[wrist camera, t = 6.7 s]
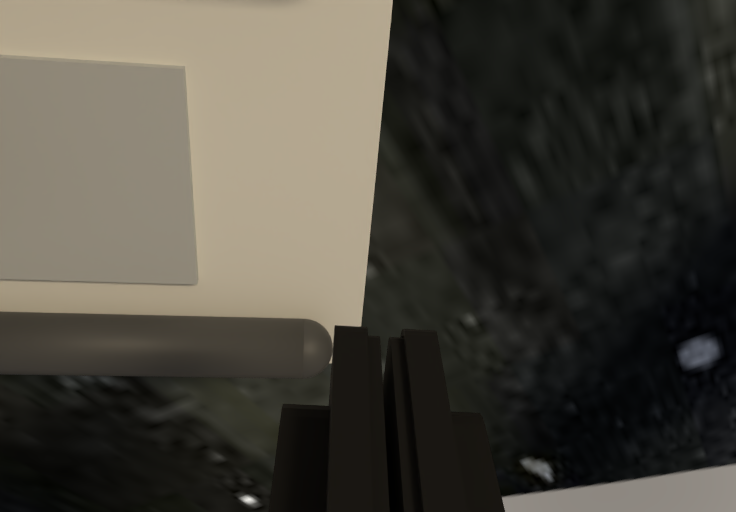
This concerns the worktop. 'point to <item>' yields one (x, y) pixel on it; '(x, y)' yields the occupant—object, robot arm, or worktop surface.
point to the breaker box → (186, 183)
